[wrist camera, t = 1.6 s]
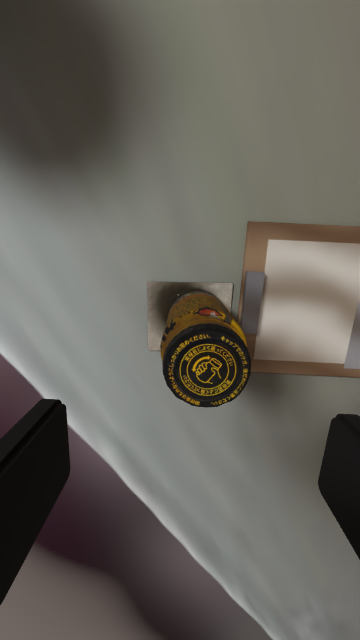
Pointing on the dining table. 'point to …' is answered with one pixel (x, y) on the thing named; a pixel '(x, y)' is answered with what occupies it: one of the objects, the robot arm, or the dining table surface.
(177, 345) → the condiment
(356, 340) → the clipboard
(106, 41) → the dining table surface
